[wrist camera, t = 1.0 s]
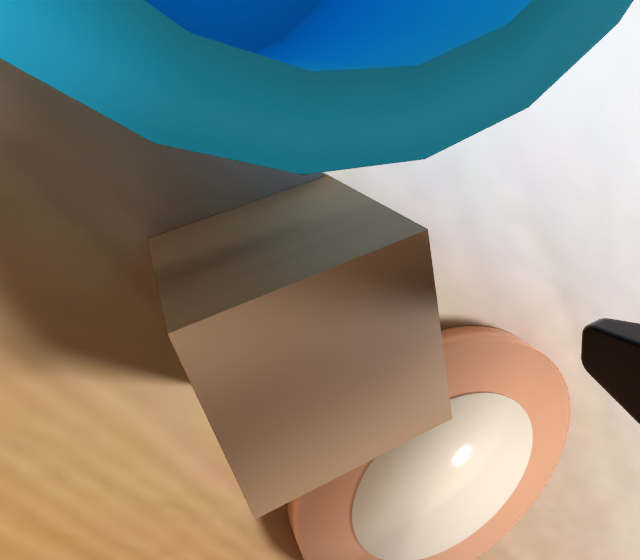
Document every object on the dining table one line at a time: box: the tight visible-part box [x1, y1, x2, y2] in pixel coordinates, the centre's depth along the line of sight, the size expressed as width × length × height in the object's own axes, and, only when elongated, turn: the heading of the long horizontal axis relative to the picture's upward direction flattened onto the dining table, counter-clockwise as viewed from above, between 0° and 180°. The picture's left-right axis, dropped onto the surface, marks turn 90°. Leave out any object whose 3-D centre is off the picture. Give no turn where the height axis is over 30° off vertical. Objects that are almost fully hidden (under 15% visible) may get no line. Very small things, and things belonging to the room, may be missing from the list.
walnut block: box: [147, 175, 452, 519], centre depth 12 cm, size 5×5×5 cm
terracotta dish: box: [287, 326, 570, 560], centre depth 19 cm, size 12×12×1 cm
